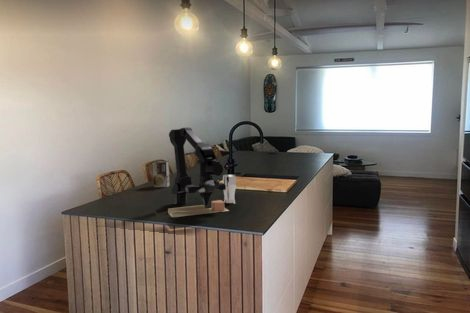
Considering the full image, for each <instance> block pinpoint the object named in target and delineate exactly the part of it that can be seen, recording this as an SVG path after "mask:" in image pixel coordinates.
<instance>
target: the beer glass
mask: <svg viewBox="0 0 470 313" xmlns="http://www.w3.org/2000/svg"><path fill="white" fill-rule="evenodd" d="M222 183H223V184H225V186H226V190H223V196H224V198H223V202H224V203H226V204H236V199H235V194H236V187H237V180H236V174H224V175H222Z"/></svg>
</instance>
